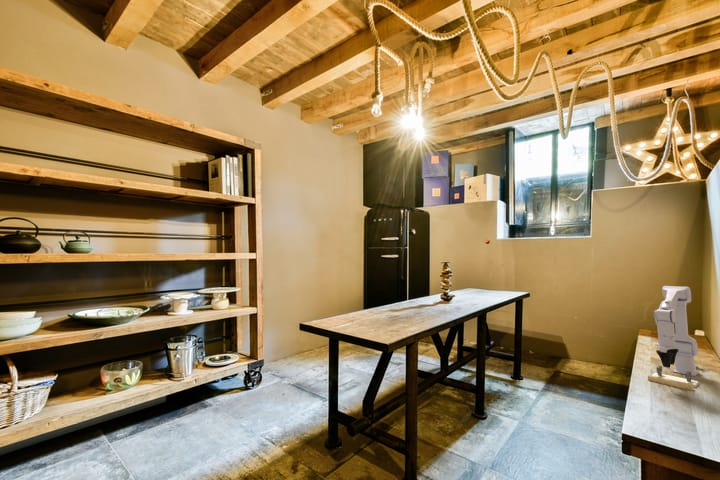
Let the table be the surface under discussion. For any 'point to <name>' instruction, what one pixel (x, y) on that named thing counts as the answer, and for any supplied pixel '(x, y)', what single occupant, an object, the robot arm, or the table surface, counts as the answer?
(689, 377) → the hook stand
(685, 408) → the table surface
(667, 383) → the wooden bar
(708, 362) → the table surface
